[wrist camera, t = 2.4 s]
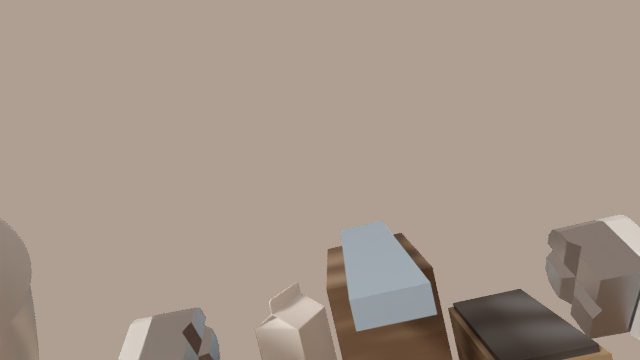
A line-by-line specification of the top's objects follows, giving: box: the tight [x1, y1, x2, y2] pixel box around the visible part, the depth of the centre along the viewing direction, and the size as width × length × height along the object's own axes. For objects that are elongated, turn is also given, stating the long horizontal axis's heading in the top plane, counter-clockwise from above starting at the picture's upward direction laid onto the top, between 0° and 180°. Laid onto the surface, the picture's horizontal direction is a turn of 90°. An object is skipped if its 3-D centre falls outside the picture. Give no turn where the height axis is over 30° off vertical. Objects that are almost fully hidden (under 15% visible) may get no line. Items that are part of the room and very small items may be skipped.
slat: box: [340, 221, 437, 332], centre depth 35 cm, size 22×4×2 cm, turn 179°
